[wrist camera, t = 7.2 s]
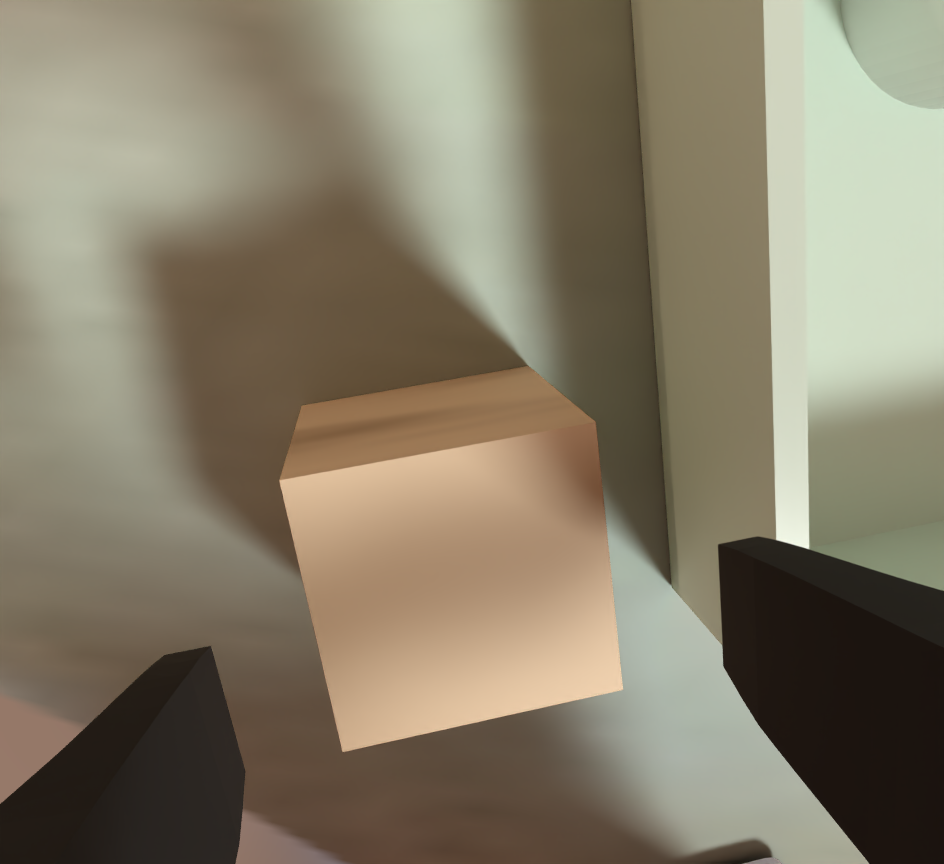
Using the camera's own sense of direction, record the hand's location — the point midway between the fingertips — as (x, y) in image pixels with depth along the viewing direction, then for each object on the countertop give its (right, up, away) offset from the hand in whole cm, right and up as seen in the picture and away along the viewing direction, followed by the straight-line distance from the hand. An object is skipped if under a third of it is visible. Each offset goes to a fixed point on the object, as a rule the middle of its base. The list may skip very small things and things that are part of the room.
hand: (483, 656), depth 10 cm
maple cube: (-1, +2, +7) cm, 7 cm away
